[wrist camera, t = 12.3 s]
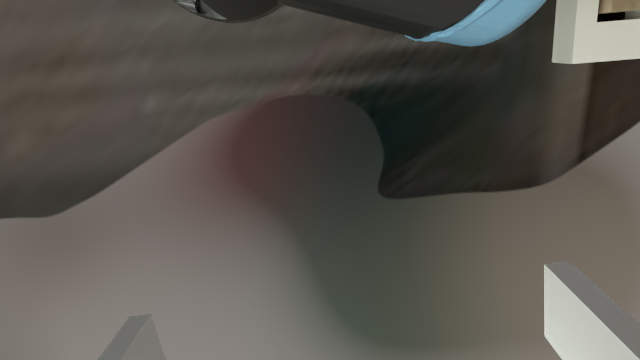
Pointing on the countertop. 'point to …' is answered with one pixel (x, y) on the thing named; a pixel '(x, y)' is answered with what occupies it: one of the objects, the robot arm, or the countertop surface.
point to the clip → (617, 6)
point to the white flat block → (593, 34)
